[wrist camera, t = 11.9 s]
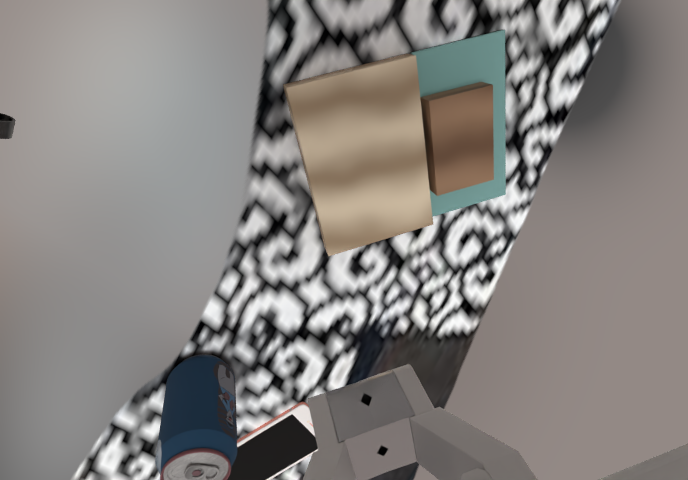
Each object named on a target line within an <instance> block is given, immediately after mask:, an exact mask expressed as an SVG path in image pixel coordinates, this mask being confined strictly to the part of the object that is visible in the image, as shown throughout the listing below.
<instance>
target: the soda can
mask: <svg viewBox="0 0 688 480" xmlns="http://www.w3.org/2000/svg"><path fill="white" fill-rule="evenodd" d="M236 456H237V425H236V394H235V376H234V373H233V371H232V369H231V368H230V367H229V366H228V365H227V364H226V363H225V362H224V361H223V360H222V359H220V358H218V357H216V356H213V355H208V354H201V355H195V356H192V357H189V358H187V359H185V360H184V361H183V362H181V363H180V364H179V365H178V366H176V367H175V368H174V369H173V371H172V372H171V373H170V375H169V377H168V380H167V385H166V391H165V398H164V405H163V412H162V418H161V425H160V432H159V438H158V445H157V452H156V459H155V462H156V466H157V469H158V471H159V473H160V480H227V479H228V477H229V475H230V472H231V467H232V465H233V463H234V461H235V459H236Z"/></svg>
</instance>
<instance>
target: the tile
mask: <svg viewBox="0 0 688 480" xmlns="http://www.w3.org/2000/svg"><path fill="white" fill-rule="evenodd" d="M420 100H421V110H422V119H423V129H424V139H425V149H426V159H427V169H428V179H429V189H430V190H431V191H432V192H433V193H434V194H435V195H437V196H439V195H442V194H446V193H449V192H453V191H456V190H460V189H463V188H467V187H470V186H473V185H477V184H480V183H484V182H487V181H491V180H494V138H493V85H492V84H488V83H484V82H478V83H474V84H470V85H467V86H463V87H459V88H455V89H451V90H447V91H443V92H439V93H435V94H431V95H427V96H423V97H420Z"/></svg>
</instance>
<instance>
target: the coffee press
mask: <svg viewBox="0 0 688 480" xmlns="http://www.w3.org/2000/svg"><path fill="white" fill-rule="evenodd" d="M14 125H15V119H13V118H12V117H10V116H7V115H5V114H1V113H0V139H9V138H12V134H13V129H14Z"/></svg>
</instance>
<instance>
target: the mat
mask: <svg viewBox="0 0 688 480" xmlns="http://www.w3.org/2000/svg"><path fill="white" fill-rule="evenodd" d="M410 54H412V55H416V60H417V70H418V80H419V90H420V97H423V96H427V95H431V94H435V93H439V92H443V91H447V90H451V89H455V88H459V87H463V86H467V85H470V84H474V83H478V82H484V83H488V84H492V85H493V138H494V180H491V181H487V182H484V183H480V184H477V185H473V186H470V187H467V188H463V189H460V190H456V191H453V192H449V193H446V194H442V195H439V196H437V195H435V194H434V193H433V192H432V191H431V190H430V199H431V209H432V217H433V216H436V215H439V214H443V213H446V212H449V211H453V210H456V209H459V208H463V207H466V206H469V205H472V204H476V203H479V202H482V201H486V200H489V199H492V198H496V197H499V196H502V195H505V194H506V193H505V30H499V31H495V32H491V33H487V34H483V35H479V36H475V37H471V38H467V39H463V40H459V41H455V42H451V43H447V44H443V45H439V46H435V47H431V48H427V49H423V50H419V51H415V52H411V53H410Z"/></svg>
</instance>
